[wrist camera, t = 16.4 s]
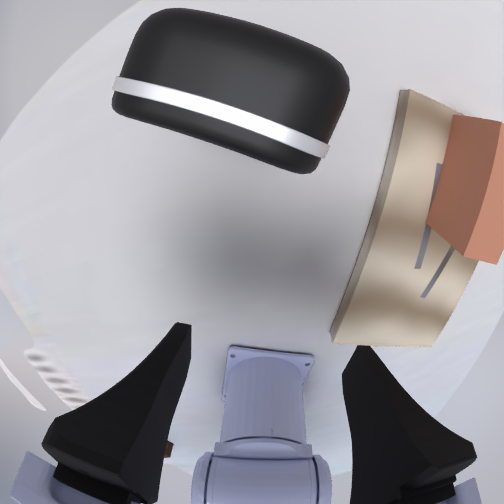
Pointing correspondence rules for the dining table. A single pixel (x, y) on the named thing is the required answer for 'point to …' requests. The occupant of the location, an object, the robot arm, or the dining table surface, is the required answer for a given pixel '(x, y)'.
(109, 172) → the dining table surface
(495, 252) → the block
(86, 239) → the dining table surface
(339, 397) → the dining table surface
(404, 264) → the board
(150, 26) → the battery charger
